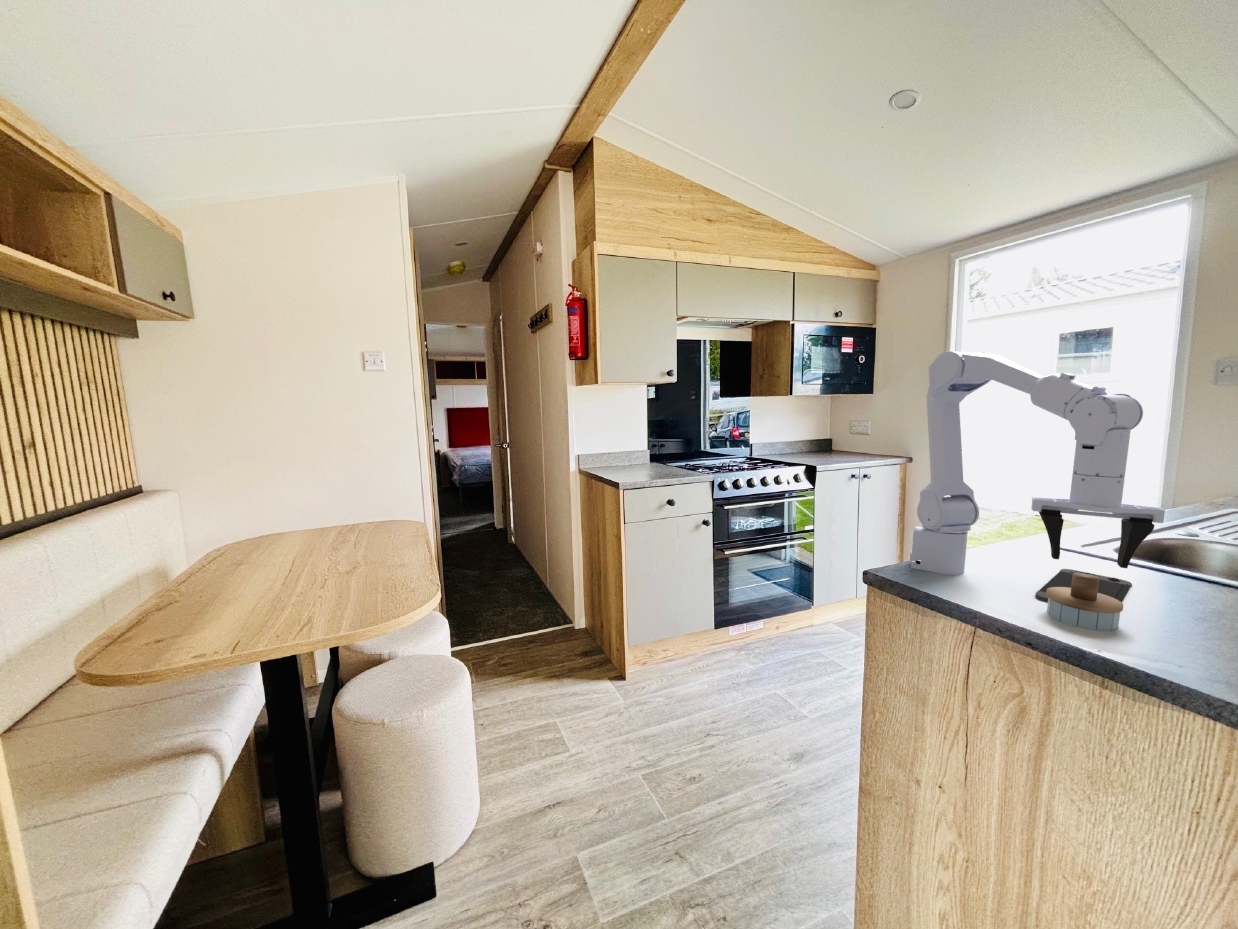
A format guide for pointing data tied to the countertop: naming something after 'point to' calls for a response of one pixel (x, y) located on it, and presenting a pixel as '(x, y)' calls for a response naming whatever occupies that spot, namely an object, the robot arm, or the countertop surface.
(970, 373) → the robot arm
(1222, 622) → the countertop surface
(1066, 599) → the lid
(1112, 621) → the bowl
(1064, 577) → the gaming console
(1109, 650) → the countertop surface
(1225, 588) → the countertop surface
